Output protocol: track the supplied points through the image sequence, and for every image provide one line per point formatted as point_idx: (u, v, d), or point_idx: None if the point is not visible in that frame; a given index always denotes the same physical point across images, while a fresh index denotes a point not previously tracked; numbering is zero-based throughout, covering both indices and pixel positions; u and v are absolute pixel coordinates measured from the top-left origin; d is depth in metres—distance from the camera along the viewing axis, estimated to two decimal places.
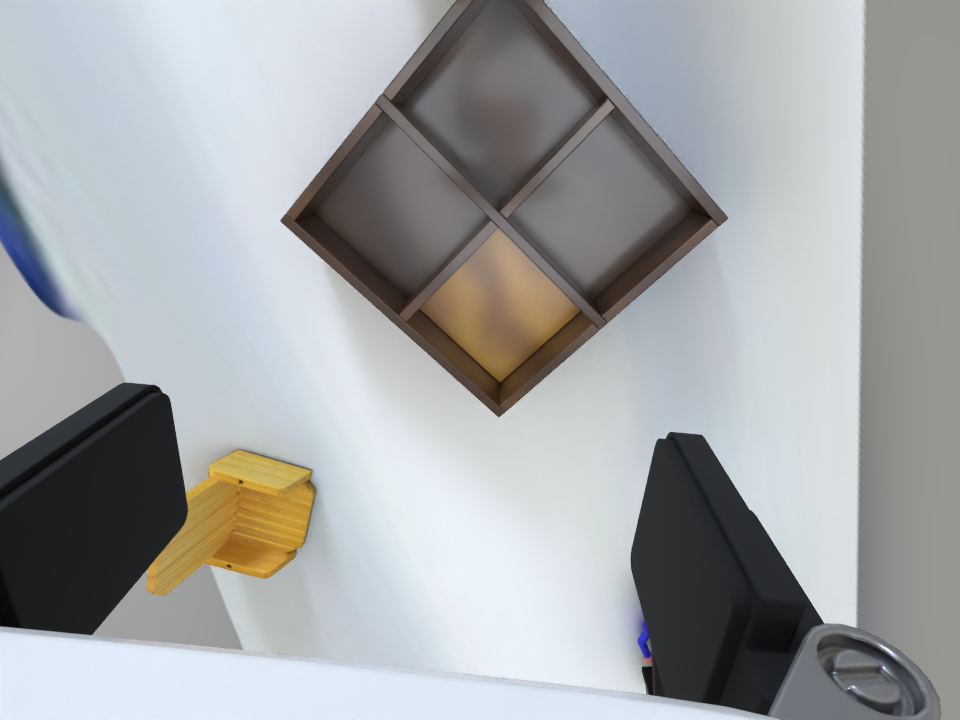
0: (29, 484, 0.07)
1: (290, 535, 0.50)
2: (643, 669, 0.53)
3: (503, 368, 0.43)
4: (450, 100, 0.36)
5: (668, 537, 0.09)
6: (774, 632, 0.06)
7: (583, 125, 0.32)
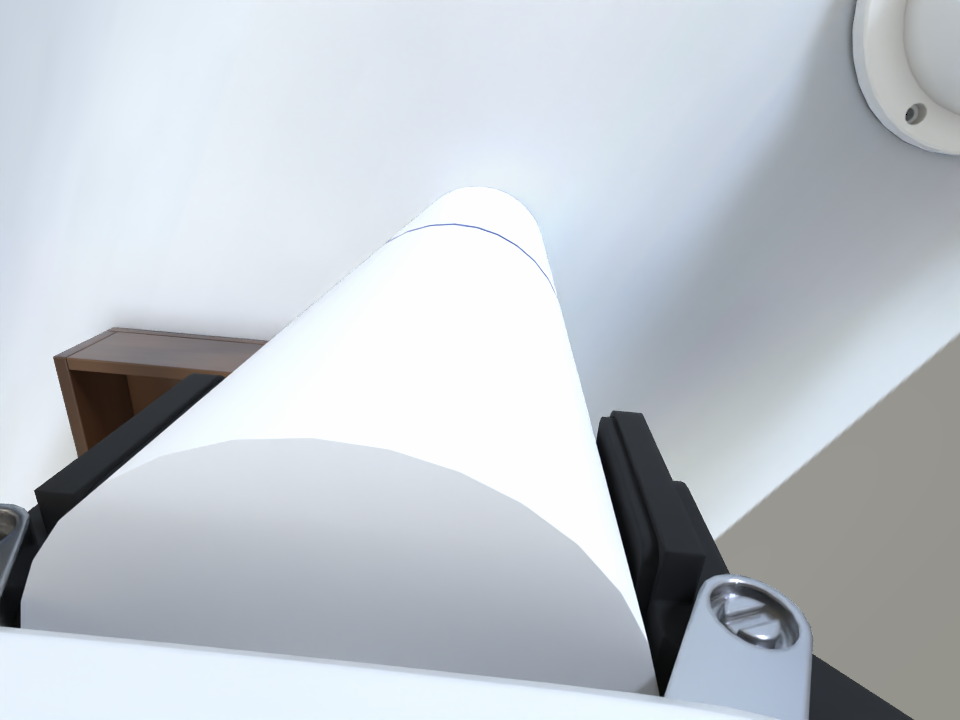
0: None
1: None
2: None
3: None
4: None
5: None
6: (679, 582, 0.07)
7: None
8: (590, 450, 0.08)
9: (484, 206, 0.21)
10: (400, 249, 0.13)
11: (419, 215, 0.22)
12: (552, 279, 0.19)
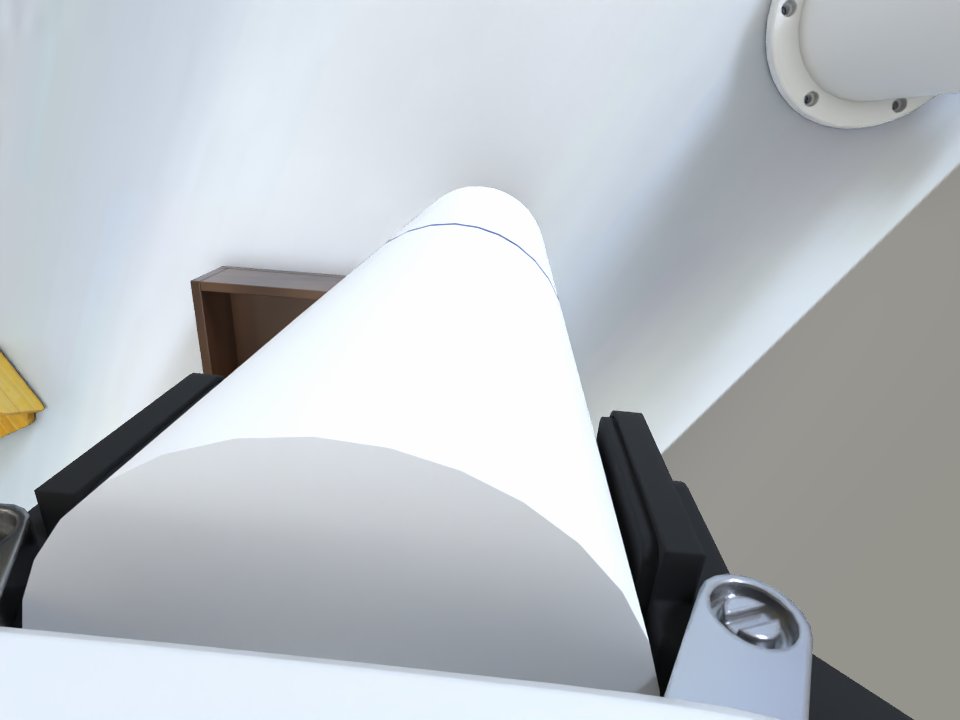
0: None
1: None
2: None
3: None
4: None
5: None
6: (679, 583, 0.07)
7: None
8: (590, 449, 0.08)
9: (484, 206, 0.21)
10: (400, 249, 0.13)
11: (419, 215, 0.22)
12: (552, 279, 0.19)
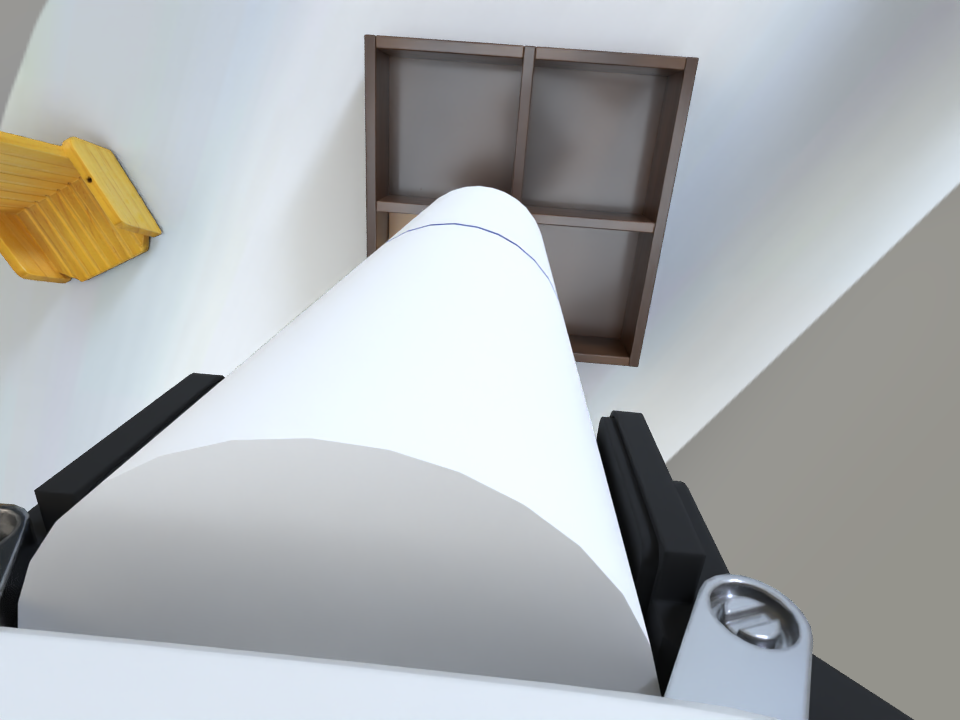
0: None
1: (82, 263, 0.44)
2: None
3: None
4: (564, 102, 0.37)
5: None
6: (678, 582, 0.07)
7: (625, 221, 0.36)
8: (591, 450, 0.08)
9: (484, 206, 0.21)
10: (400, 249, 0.13)
11: None
12: (552, 279, 0.19)
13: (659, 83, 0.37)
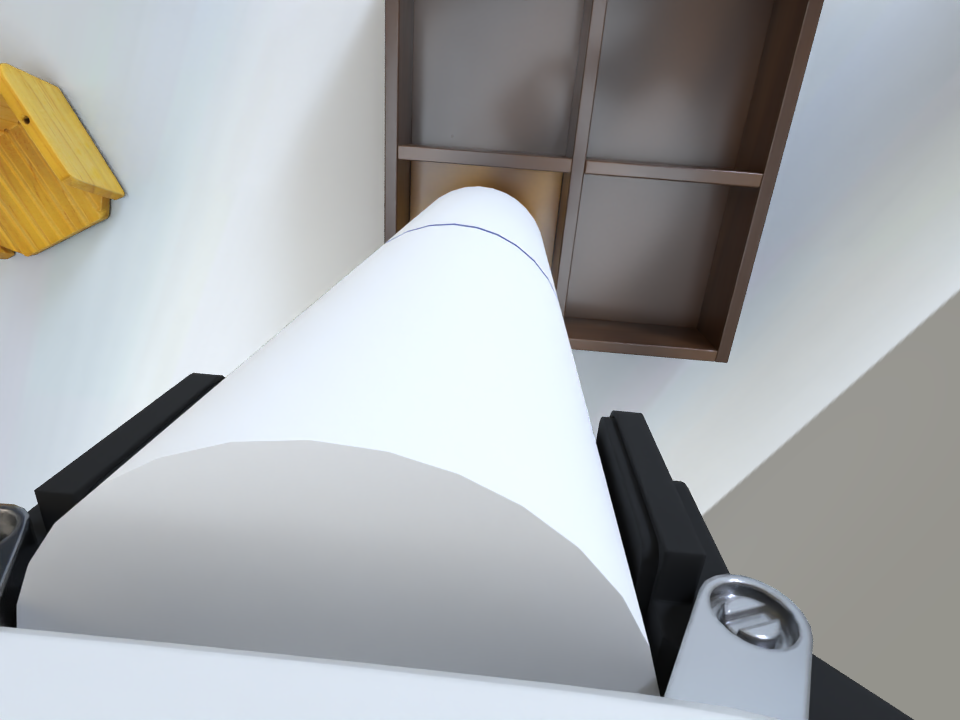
0: None
1: (26, 232, 0.35)
2: None
3: None
4: (640, 20, 0.29)
5: None
6: (678, 582, 0.07)
7: (724, 171, 0.28)
8: (590, 451, 0.08)
9: (484, 206, 0.21)
10: (399, 249, 0.13)
11: (418, 215, 0.22)
12: (552, 279, 0.19)
13: None
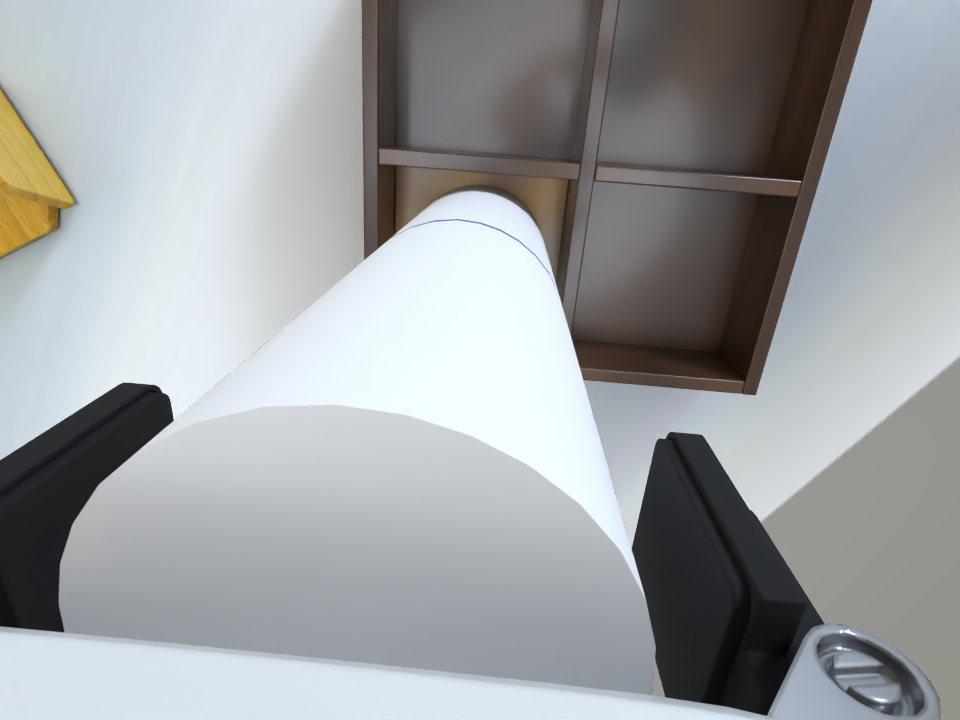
0: (29, 484, 0.07)
1: None
2: None
3: None
4: (659, 3, 0.25)
5: (668, 537, 0.09)
6: (774, 632, 0.06)
7: (756, 179, 0.24)
8: (590, 428, 0.08)
9: (486, 203, 0.21)
10: (406, 243, 0.14)
11: (422, 212, 0.22)
12: (552, 274, 0.19)
13: None
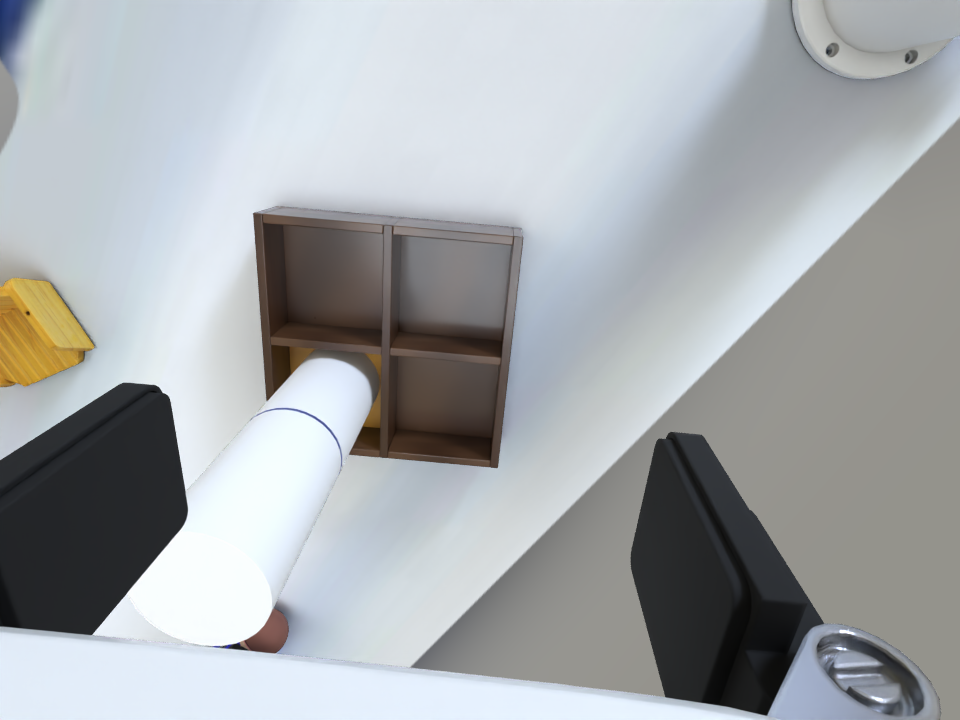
0: (29, 484, 0.07)
1: (24, 371, 0.50)
2: None
3: None
4: (429, 254, 0.45)
5: (668, 537, 0.09)
6: (774, 632, 0.06)
7: (476, 356, 0.44)
8: (278, 524, 0.28)
9: (319, 379, 0.41)
10: (250, 434, 0.33)
11: (288, 380, 0.42)
12: (344, 423, 0.39)
13: None
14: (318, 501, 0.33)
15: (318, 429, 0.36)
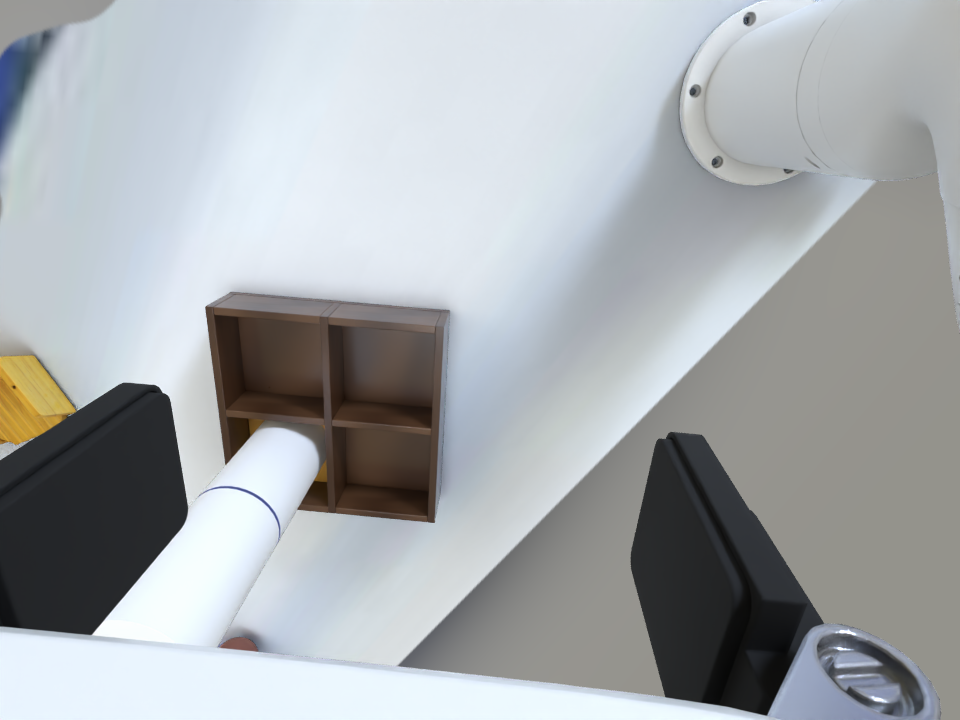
0: (29, 484, 0.07)
1: (15, 432, 0.56)
2: None
3: None
4: (368, 334, 0.50)
5: (668, 537, 0.09)
6: (774, 632, 0.06)
7: (409, 427, 0.49)
8: (204, 606, 0.33)
9: (265, 452, 0.46)
10: (192, 516, 0.39)
11: (239, 452, 0.47)
12: (284, 494, 0.44)
13: None
14: (250, 574, 0.38)
15: (256, 506, 0.41)
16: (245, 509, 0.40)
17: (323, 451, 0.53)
